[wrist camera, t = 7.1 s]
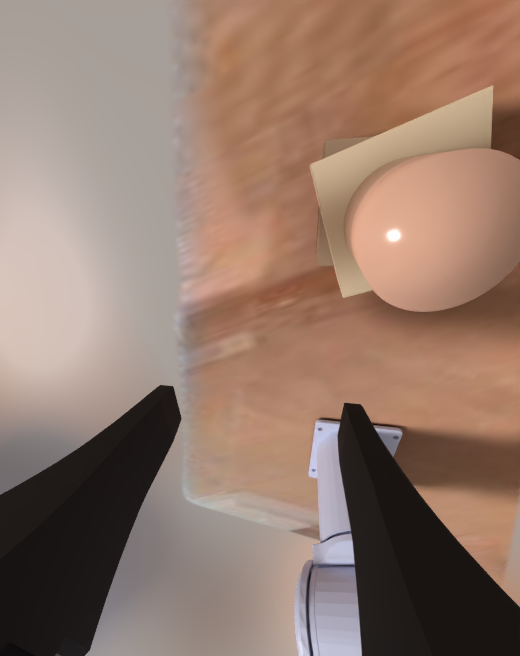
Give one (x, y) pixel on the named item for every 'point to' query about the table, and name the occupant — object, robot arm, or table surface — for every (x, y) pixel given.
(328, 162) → the tower top
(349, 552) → the robot arm
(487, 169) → the tan cylinder
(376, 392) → the table surface
